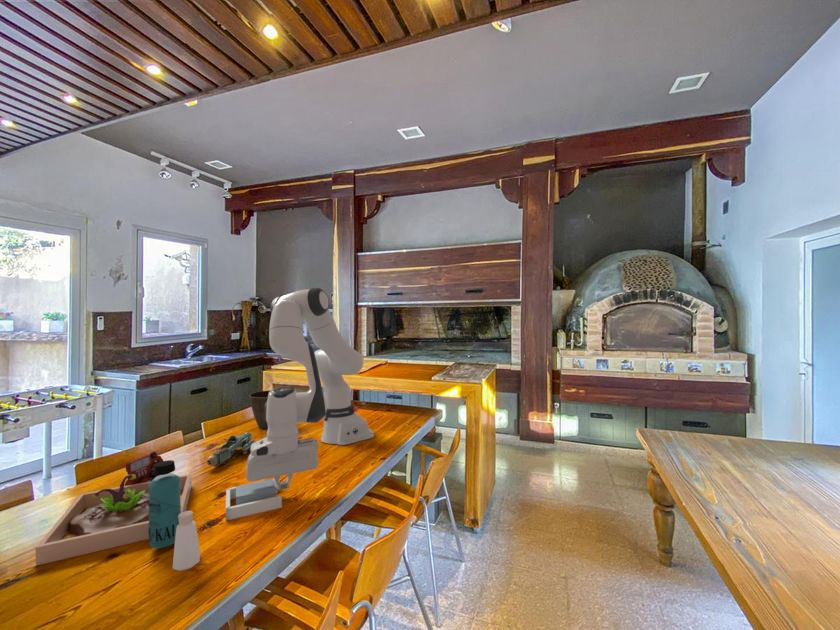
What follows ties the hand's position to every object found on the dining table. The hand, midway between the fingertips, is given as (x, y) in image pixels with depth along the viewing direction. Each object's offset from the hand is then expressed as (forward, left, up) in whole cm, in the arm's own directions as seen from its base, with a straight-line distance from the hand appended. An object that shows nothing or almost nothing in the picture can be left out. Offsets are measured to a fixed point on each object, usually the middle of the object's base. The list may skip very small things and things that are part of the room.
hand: (283, 488), depth 111 cm
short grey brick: (+8, 0, -2) cm, 8 cm away
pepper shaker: (+23, +21, -2) cm, 31 cm away
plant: (+40, -9, -3) cm, 41 cm away
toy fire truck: (+38, -27, -2) cm, 46 cm away
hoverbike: (+14, -41, -3) cm, 43 cm away
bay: (+8, 0, -2) cm, 8 cm away
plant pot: (-1, -75, -2) cm, 75 cm away
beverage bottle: (+28, +12, -2) cm, 30 cm away
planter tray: (+39, -7, -2) cm, 39 cm away
